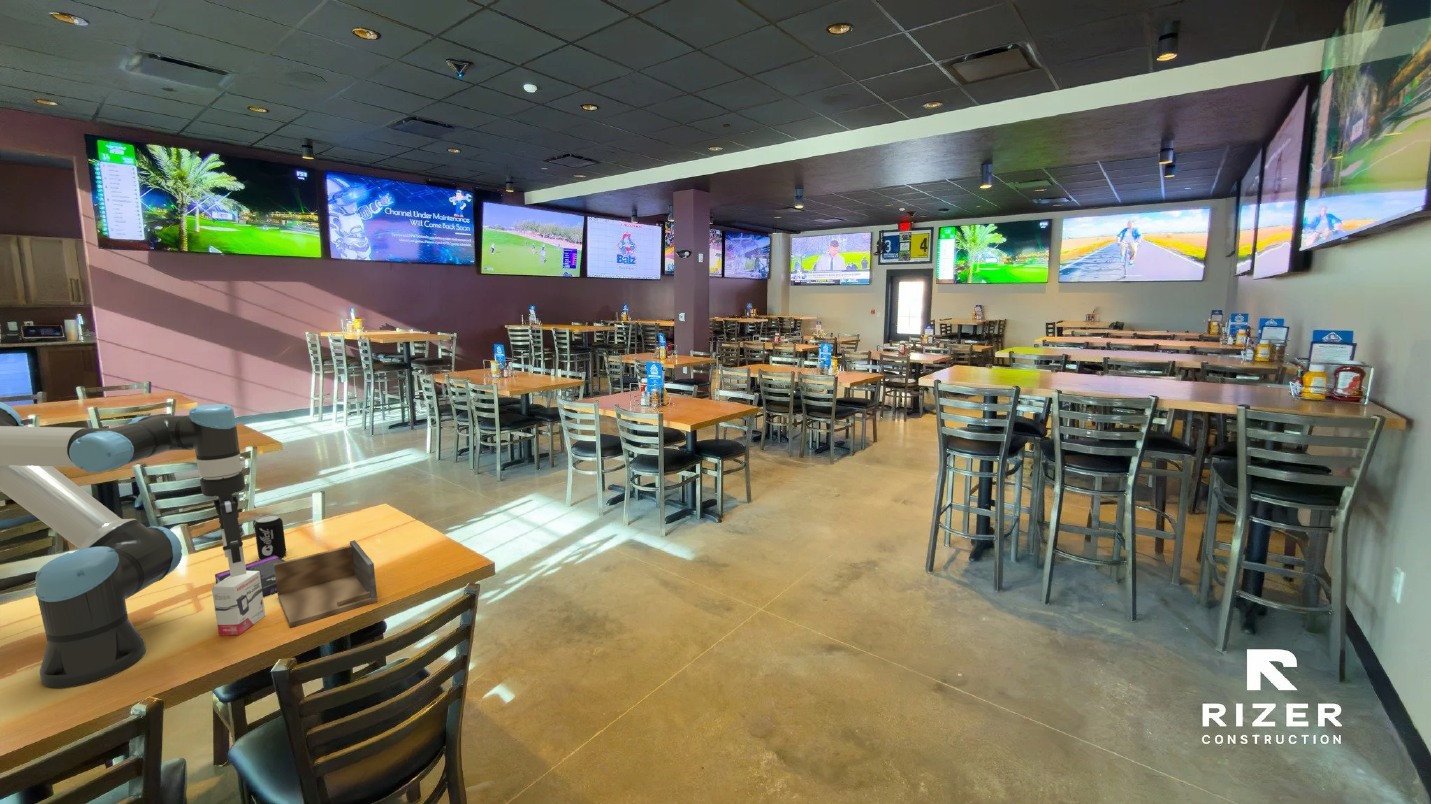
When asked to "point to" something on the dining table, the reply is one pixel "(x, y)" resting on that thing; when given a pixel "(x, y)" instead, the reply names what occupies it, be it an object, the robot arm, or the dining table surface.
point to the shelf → (325, 584)
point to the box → (265, 573)
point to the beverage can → (270, 536)
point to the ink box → (238, 603)
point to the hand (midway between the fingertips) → (235, 565)
